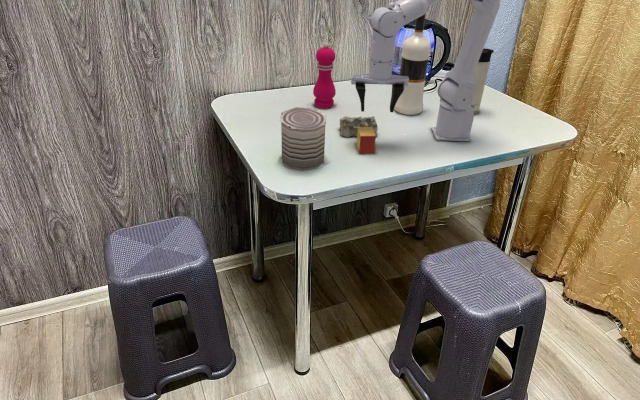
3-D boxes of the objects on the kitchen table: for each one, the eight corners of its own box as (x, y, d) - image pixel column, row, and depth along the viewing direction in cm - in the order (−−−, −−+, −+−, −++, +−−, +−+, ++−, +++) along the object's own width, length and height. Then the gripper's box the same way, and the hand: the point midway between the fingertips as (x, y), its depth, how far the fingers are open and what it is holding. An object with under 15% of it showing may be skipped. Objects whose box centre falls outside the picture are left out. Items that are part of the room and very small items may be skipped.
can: (324, 149, 126) (325, 107, 120) (326, 170, 117) (327, 126, 110) (281, 149, 126) (280, 107, 119) (279, 170, 116) (279, 125, 110)
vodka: (391, 114, 148) (404, 13, 132) (394, 103, 156) (406, 7, 140) (421, 117, 147) (437, 16, 131) (422, 106, 155) (438, 9, 138)
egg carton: (340, 137, 133) (340, 124, 131) (338, 126, 139) (339, 113, 137) (377, 137, 133) (379, 124, 131) (374, 126, 140) (375, 114, 138)
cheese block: (370, 143, 130) (372, 127, 128) (374, 153, 125) (375, 136, 123) (356, 143, 130) (357, 127, 127) (359, 153, 125) (360, 136, 122)
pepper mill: (335, 109, 150) (338, 45, 139) (312, 108, 150) (313, 45, 139) (335, 101, 156) (337, 39, 145) (313, 100, 156) (314, 38, 145)
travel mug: (475, 116, 149) (489, 52, 138) (455, 111, 152) (468, 48, 141) (482, 110, 153) (496, 48, 142) (463, 105, 156) (476, 44, 145)
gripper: (353, 63, 115) (350, 115, 122) (413, 65, 115) (406, 117, 122) (352, 55, 121) (349, 105, 128) (408, 56, 121) (402, 106, 128)
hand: (376, 110), depth 125 cm, fingers open, 7 cm apart
